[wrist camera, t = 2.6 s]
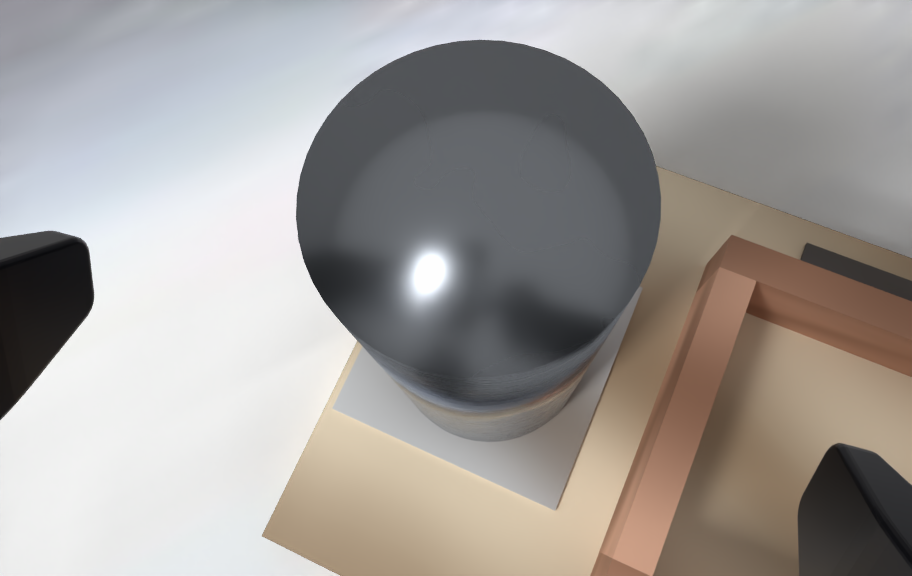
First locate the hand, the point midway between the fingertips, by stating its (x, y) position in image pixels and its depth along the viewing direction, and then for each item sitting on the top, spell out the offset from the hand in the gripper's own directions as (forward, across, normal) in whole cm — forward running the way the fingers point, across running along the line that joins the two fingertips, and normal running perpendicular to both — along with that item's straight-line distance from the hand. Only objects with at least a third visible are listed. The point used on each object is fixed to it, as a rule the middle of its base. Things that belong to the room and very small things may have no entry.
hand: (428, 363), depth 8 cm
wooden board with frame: (+8, -5, +6) cm, 10 cm away
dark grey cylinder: (+7, 0, +5) cm, 9 cm away
